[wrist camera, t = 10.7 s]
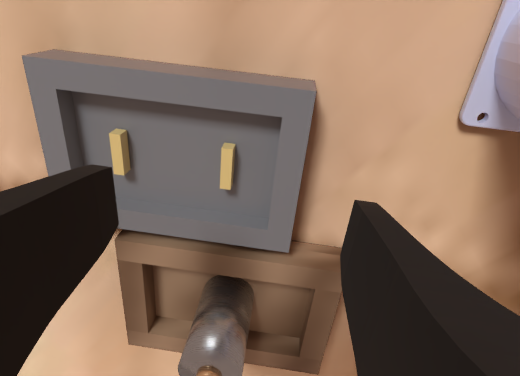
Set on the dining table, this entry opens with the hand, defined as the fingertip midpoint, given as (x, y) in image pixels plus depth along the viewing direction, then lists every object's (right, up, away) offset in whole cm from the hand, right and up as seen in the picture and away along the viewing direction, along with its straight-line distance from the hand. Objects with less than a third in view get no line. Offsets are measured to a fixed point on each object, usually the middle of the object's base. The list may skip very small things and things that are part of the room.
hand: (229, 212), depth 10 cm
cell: (-1, -7, +14) cm, 16 cm away
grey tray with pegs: (-4, +3, +10) cm, 11 cm away
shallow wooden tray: (-1, -7, +15) cm, 16 cm away
